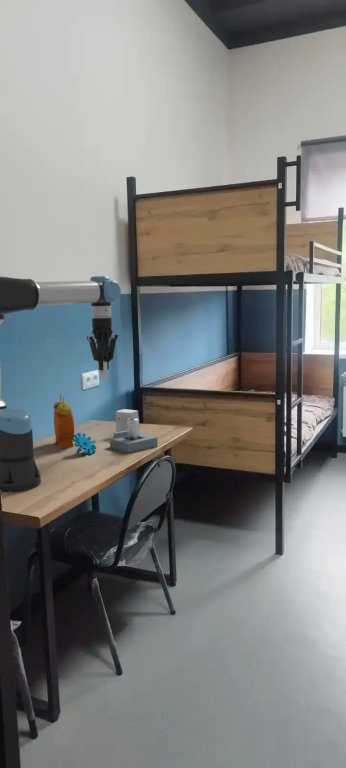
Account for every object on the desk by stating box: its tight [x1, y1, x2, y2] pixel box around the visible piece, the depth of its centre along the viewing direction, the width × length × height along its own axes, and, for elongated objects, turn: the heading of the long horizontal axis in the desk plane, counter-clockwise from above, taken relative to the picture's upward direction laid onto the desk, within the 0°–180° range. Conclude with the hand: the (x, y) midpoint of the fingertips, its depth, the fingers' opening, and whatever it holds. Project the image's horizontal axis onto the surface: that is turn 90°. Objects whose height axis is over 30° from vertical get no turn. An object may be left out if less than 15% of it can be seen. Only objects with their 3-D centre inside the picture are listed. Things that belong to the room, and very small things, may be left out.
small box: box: [115, 408, 139, 433], centre depth 245 cm, size 8×6×10 cm
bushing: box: [127, 417, 140, 441], centre depth 227 cm, size 4×4×11 cm
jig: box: [109, 430, 158, 454], centre depth 227 cm, size 14×12×5 cm
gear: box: [73, 432, 98, 455], centre depth 221 cm, size 11×6×10 cm
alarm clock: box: [53, 393, 75, 449], centre depth 232 cm, size 13×6×20 cm, turn 20°
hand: (104, 378), depth 228 cm, fingers closed
